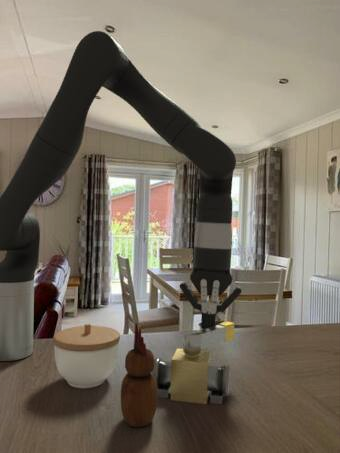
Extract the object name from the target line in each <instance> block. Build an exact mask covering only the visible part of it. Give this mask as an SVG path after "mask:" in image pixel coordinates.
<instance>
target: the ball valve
mask: <svg viewBox="0 0 340 453" xmlns="http://www.w3.org/2000/svg"><path fill="white" fill-rule="evenodd" d="M211 355H212V354H211V351H210V350H209V351H208V350H201V353H199V354H195V355H190V354H186V353H184V352H183V348H176V350H175V353H174V354H173V356H172V357H171V360H164V359H163V358H162V357H154V362H155V364H154V369H153V371H152V372H151V373H152V374H153V376H154V377H155V379H156V382H157V398H163V399H165V398H166V399H168V398H169V397H170V401H177V402H183V403H184V402H185V403H192V404H203V405H207V404H208V399H209V394H210V404H216V405H223V399H224V398H223V397H224V396H227V397H228V396H229V393H230V391H229V389H230V364H225V363H224V364H223V365H214V364H213V365H212V364H211V360H212V358H211Z"/></svg>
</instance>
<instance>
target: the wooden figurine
mask: <svg viewBox="0 0 340 453" xmlns="http://www.w3.org/2000/svg"><path fill="white" fill-rule="evenodd" d="M141 329H142V328H139V327H138V323H137V322H136V323H135V329H134V340H133V348H132V349H130V350H129V351H128V352H127V354H126V356H125V359H124V360H125V362H124V367H125V371H126V374H125V375H124V377H123V379H122V380H121V386H120V408H121V414H122V417H123V420H124V421H125V422H126V424H127V425H129V426H131V427H134V428H135V427H136V428H140V427H141V428H142V427H146V426H147V425H149V424H150V423H152V421H153V419H154V417H155V414H156V411H157V406H158V405H157V404H158V397H157V382H156V379H155V377H154V376H153V374H152V371H153V369H154V364H155V362H154V360H155V355H154V353H153V352H152V350H150V349H148V348H147V346H146V344H147V343H145V341H144V336H142V330H141Z"/></svg>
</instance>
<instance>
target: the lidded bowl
mask: <svg viewBox="0 0 340 453" xmlns="http://www.w3.org/2000/svg"><path fill="white" fill-rule="evenodd" d="M120 339H121V334H120V332H119V331H118V330H117V329H114V328H112V327H108V326H102V325H92V324H91V323H85V324H84V325H78V326H72V327H68V328H64V329H62V330H60V331H57V332H56V333H55V334H54V335H53V344H54V349H53V350H54V360H55V365H56V369H57V371H58V373H59V375H60V377H61V378H62V379H64V380H66V382H67V384H68V385H69V386H70V387H73V388H77V389H91V388H95V387H99V386H101V385H102V384H104V383H105V381H106V379H108V377H110V375H111V374H112V372H113V371H114V369H115V367H116V365H117V362H118V361H117V360H118V357H119V350H120Z"/></svg>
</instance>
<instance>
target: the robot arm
mask: <svg viewBox="0 0 340 453" xmlns="http://www.w3.org/2000/svg"><path fill="white" fill-rule="evenodd" d="M102 87H103V88H105V89H106V90H108V91H109V92H111V93H113V94H114V95H116V96H117V97H119V98H120V99H122V100H123V101H124V102H125V103H127V104H128V105H129V106H130V107H131V108H133V109H134V110H135V111H136V112H137V113H138V115H140V117H141V118H142V119H143V120H144V121H145V122H146V123H147V124H148V125H149V126H150V128H151V129H153V131H154V132H155V133H156V134H158V136H160V137H161V139H163V140H164V141H165V142H166V143H167V144H168V145H169V146H171V147H172V148H173V149H174V150H175V151H176V152H178V153H179V154H182V155H184V156H185V157H186V158H187V159H188V160H189V161H190V162H192V164H194V165H195V166H196V167H197V168H198V169H199V198H198V201H197V209H196V225H195V226H196V227H195V230H194V244H193V262H192V263H193V264H192V272H191V273H190V275H189V278H188V279H187V280H185V281H183V282H181V283H180V284H179V288H180V291H181V292H182V293H183V295H184V296H185V298H186V299H187V300H188V301H189V303H190V305H191V306H192V308H193V309H194V310H198V311H199V312H200V313H201V322H200V323H201V324H200V327H201V329H206V328H209V327H213V326H216V325H217V324H216V323H217V314H218V313H223V312H225V311H226V310H227V309H228V308H229V307H230V306H231V305H232V303H233V302H234V301H235V300H236V299H237V298H238V297H240V295H241V293H242V292H243V290H242V287H241V286H239V285H237V284H236V283H235V282H234V281H233V276H232V273H231V265H232V246H233V229H232V228H233V227H232V226H233V224H232V223H233V199H232V190H233V189H232V188H233V176H234V171H235V169H236V164H237V158H236V156H235V153H234V151H233V149H232V148H230V146H228V144H226V143H225V141H223V140H221V139H220V138H219V137H217V136H216V135H214V134H213V133H212V132H210V130H207V129H205V128H204V127H203V126H202V125H201V124H199V122H197V121H196V119H195V118H194V117H193V116H191V115H190V114H189V113H188V112H187V111H185V109H183V108H182V107H181V106H180V105H179V104H177V103H176V102H175V101H174V100H172V99H171V98H169V97H168V96H167V95H165V94H164V93H163V92H162V91H160V90H159V89H158V88H156V86H154V85H153V84H152V83H151V82H150V81H149V80H148V79H147V78H146V77H145V76H144V75H143V74H142V73H141V72H140V71H139V69H138V68H137V67H136V65H135V64H134V63H133V62H132V60H131V59H130V58H129V57H128V55H127V54H126V51H125V49H124V48H123V47H122V46H121V45H120V43H118V42H117V41H116V40H115V39H114V38H113V37H112V36H111V35H110V34H108V33H107V32H105V31H101V30H95V31H92V32H89V33H87V34H85V36H83V38H81V39H80V41H78V43H77V45H76V48H75V50H74V52H73V54H72V56H71V59H70V61H69V65H68V67H67V69H66V72H65V75H64V76H63V80H62V82H61V84H60V86H59V89H58V91H57V93H56V95H55V97H54V98H53V100H52V103H51V104H50V107H49V108H48V111H47V113H46V115H45V116H44V118H43V119H42V122H41V124H40V126H39V127H38V129H37V130H36V133H35V134H34V136H33V138H32V140H31V142H30V144H29V146H28V148H27V150H26V152H25V153H24V154H25V155H24V156H23V158H22V160H21V162H20V163H19V165H18V167H17V169H16V170H15V173H14V175H13V176H12V178H11V180H10V181H9V183H8V184H7V186H6V187H5V190H4V191H3V192H2V194H1V195H0V252H3V251H4V252H6V253H5V256H4V258H3V260H1V261H0V362H10V361H17V360H21V359H25V358H28V357H30V356H31V355H33V351H34V348H33V347H34V314H35V311H34V306H35V305H34V304H35V303H34V302H35V273H36V270H37V268H38V266H39V255H40V254H39V253H40V243H41V228H40V223H39V220H38V219H37V218H38V217H36V216H35V214H34V213H33V212H31V211H29V210H30V208H31V207H32V206H33V204H34V203H35V202H36V201H37V200H38V199H39V198H40V197H41V196H42V195H43V194H44V193H46V192H47V191H48V190H50V188H52V187H53V186H55V184H57V183H58V182H59V181H60V180H62V178H63V177H65V175H66V173H67V172H68V170H69V169H70V167H71V166H72V164H73V162H74V160H75V158H76V156H77V154H78V153H79V150H80V149H81V146H82V143H83V142H82V141H83V138H84V134H85V127H86V121H87V117H88V114H89V111H90V108H91V106H92V104H93V102H94V101H95V99H96V97H97V96H98V93H99V92H100V90H101V89H102ZM193 287H194V288H195V289H196V291H197V292H198V294H199V295H200V300H199V299H198V297H197V295H195V293H194V291H193V290H192V289H193ZM227 289H229V290H228V293H229V295H228V296H227V297H226V298H225V299H224V300H223V301H222V302H221V303H220V304H219V299H220V298H219V297H220V296H221V295H223V294H224V292H225V291H226V290H227ZM209 296H210V297H211V301H209V299H210V297H209ZM200 301H201V302H200ZM209 304H210V305H209ZM209 307H210V308H209Z"/></svg>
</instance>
